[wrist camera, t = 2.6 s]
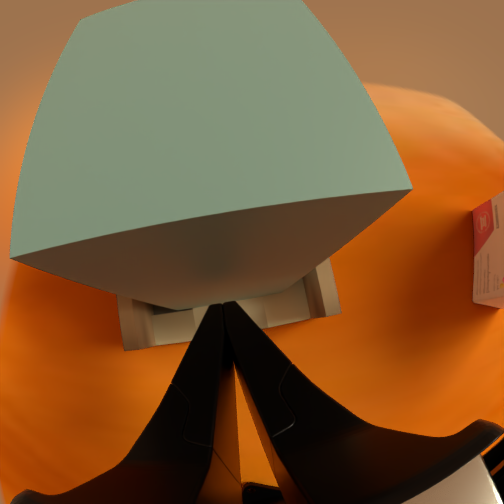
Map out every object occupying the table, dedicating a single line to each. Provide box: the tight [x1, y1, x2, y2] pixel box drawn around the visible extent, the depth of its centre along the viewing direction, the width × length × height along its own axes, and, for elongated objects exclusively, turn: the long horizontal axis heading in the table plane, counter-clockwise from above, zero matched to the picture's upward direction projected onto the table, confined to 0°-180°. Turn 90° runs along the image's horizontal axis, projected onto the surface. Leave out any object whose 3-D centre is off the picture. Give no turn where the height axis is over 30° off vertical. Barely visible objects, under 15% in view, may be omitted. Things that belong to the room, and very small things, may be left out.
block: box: [10, 0, 413, 310], centre depth 10 cm, size 7×6×13 cm
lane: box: [116, 258, 342, 351], centre depth 16 cm, size 11×11×4 cm
